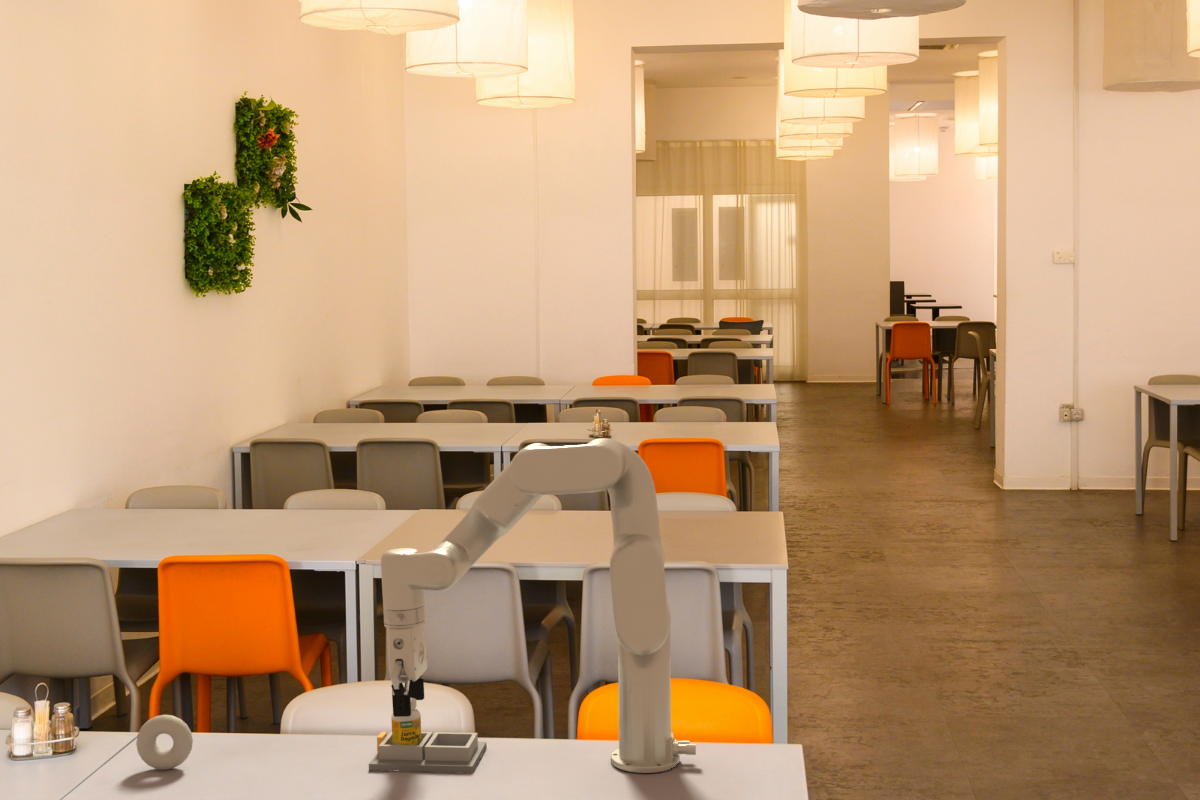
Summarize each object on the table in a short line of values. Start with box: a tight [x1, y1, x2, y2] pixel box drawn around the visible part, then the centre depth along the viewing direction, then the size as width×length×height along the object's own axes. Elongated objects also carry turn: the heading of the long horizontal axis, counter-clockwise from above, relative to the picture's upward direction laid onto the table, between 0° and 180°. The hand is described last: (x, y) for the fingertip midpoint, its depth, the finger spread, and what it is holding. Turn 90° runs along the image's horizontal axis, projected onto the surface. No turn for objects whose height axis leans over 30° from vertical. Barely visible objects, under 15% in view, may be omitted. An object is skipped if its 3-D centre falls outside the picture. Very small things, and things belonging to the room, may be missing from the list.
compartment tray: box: [368, 730, 487, 774], centre depth 218 cm, size 19×13×4 cm
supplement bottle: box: [390, 698, 422, 745], centre depth 218 cm, size 5×5×10 cm
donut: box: [135, 714, 194, 771], centre depth 214 cm, size 10×4×10 cm, turn 92°
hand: (409, 707), depth 218 cm, fingers open, 9 cm apart
